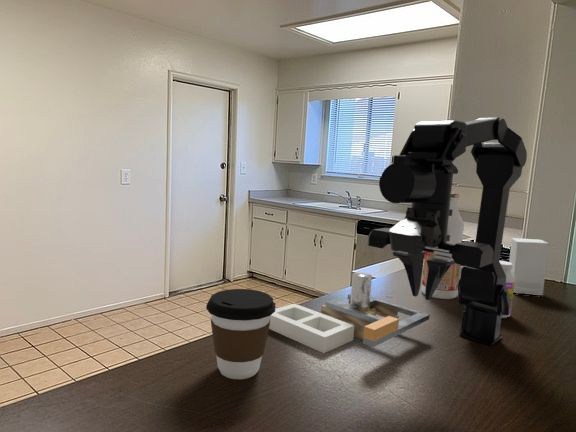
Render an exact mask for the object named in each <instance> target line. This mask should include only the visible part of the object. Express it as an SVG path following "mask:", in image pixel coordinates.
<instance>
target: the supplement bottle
mask: <svg viewBox="0 0 576 432" xmlns="http://www.w3.org/2000/svg"><path fill="white" fill-rule="evenodd" d="M499 262H500V264H501V266H502V268H503V270H504V272H505V274H506V287H507V290H508V292H509V295H510V298H511V301H512V303H511V309H510V312H509V315H502V317H501V319H507V317H508V318H510V316H511V313H512V306H513V300H514V299H513V298H514V294H513V293H514V285H515V277H514V275H513V274H511V273H510V272H511V269H512V263H510V262H509V261H505V260H500V259H499Z"/></svg>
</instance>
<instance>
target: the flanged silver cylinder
mask: <svg viewBox="0 0 576 432" xmlns="http://www.w3.org/2000/svg"><path fill="white" fill-rule="evenodd" d="M372 278H373V275H372V274H371V273H366V272H353V273H352V277H351V279H352V281H351V291H350V294H351V303H350V304H351V305H354V306H357V310H359V311H362V312H364V313H367V314H370V315H373V316H376V309H375V308H373V307H371V306H369V305H370V297H371V292H372Z"/></svg>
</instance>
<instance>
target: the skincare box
mask: <svg viewBox="0 0 576 432" xmlns="http://www.w3.org/2000/svg"><path fill="white" fill-rule="evenodd" d="M549 246H550V243H549V242H547V241H545V240H543V239H536V238H520V237H519V238H518V237H511V242H510V253H509V260H508V262H510V263H512V269H511V272H510V273H511V274H513V275H514V277H515V285H514V292H515V293H525V294H533V295H543V296H544V288H545V280H546V269H547V263H548V262H547V261H548V254H549V253H548V252H549Z"/></svg>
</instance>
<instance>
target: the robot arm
mask: <svg viewBox="0 0 576 432" xmlns="http://www.w3.org/2000/svg"><path fill="white" fill-rule="evenodd" d="M413 128H414V129H412V130H411V132H410V133H409V135H408V137H407V139H406V142H405V144H404V145H403V148H402V149H401V151H400V153H399V155H398V154H396V155H393V158H392V163H391V164H389V165H388V166H387V167H386V168H385V169H384V170H383V172H381V176H380V178H379V180H378V182H379V191H380V193H381V195H382V197H383V199H384V200H386V201H387V202H389V203H392V204H411V206H408V207H407V210H406V212H405V217H404V219H403V220H400V221H398V222H397V223H396V224H395V225H393V226H392V227H381V228H374V229H372V230H371V231H370V232H369V234H368V238H367V246H369V247H373V248H376V249H377V248H379V249H384V248H386V247H387V246H388V245H390V250H392V251H393V252H392V256H394V257H396V258H398V260H400V262H401V263H402V265H403V268H404V270H405V272H406V275H407V278H408V283H409V287H410V290H411V294H412V297H418V296H419V293H420V289H421V286H422V278H423V267H424V257H425V251H428V252H433V253H434V258H433V259H429V260H427V264H428V268H429V271H428V277H427V284H426V290H425V294H424V298H425V300H426V301H429V300H431V299H432V298H433V297H432V295H433V293H434V292H435V290H436V288H437V286H438V284H439V283H440V281H441V279H442V278H443V276H444V274H445V273H446V272H447V270H448V269H449V268H450V266H451V265H453V264H460V265H461V266H462V268H460V277H459V283H458V293H457V297H458V304H459V305H461V306H465V307H464V309H465V310H463V311H462V314H461V321H460V322H461V323H460V332H459V336H460V337H464V338H467V339H469V340H473V341H475V342H479V343H483V344H485V345H489V346H493V345H495V344H496V343H497V342H498V341H500V340H501V339H502V338H503V335H502V334H501V324H502V318H501V317H502V315H509V312H510V309H511V310H512V308H511V303H512V304H513V300H512V301H511V298H510V295H509V292H508V290H507V287H506V274H505V272H504V270H503V268H502V266H501V264H500V262H499V260H500V259H501V251H502V244H503V239H504V238H503V237H504V230H505V224H506V223H505V221H506V218H507V216H506V215H507V210H508V204H509V203H508V202H509V201H508V200H509V195H510V191H511V190H510V189H511V188H512V187H513V185H514V184H515V183H516V182H517V181H518V180H519V178H521V177H522V172H523V167H524V166H525V165H526V163H527V159H528V152H527V149H526V147H525V143H524V140H523V138H522V137H521V136H520V135H519V134H517V132H515V131H514V130H512V129H511V128H510V127H508V124H507V122H506V119H505V118H501V116H497V117H478V118H477V119H474V120H469V121H461V120H439V121H438V120H436V121H434V120H433V121H419V122H417V123H416V124H414V126H413ZM489 141H492V142H489ZM493 141H495V142H493ZM496 141H498V142H496ZM470 146H472V148H471V150H470V153H471V155H472V157H473V160H474V161H475V164H476V165H475V167H476V169H475V173H476V175H477V177H478V179H479V181H480V183H481V185H482V192H481V198H480V199H481V200H480V206H479V213H478V214H479V215H478V221H477V228H476V235H475V241H470V240H466V241H465V240H464V241H462V242H461V243H457V244H449V243H446V242H447V241H449V240H450V235H448V234H447V229H448V219H449V216H452V211H453V209H450V199H451V193H452V189H453V177H454V175H457V174H459V170H458V168H457V166H456V165H454V163H453V162H454V161H455V160H456V159H458V157H460V156H462V155H463V154H464V153H466V151H467V147H470ZM437 247H438V248H437Z"/></svg>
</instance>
